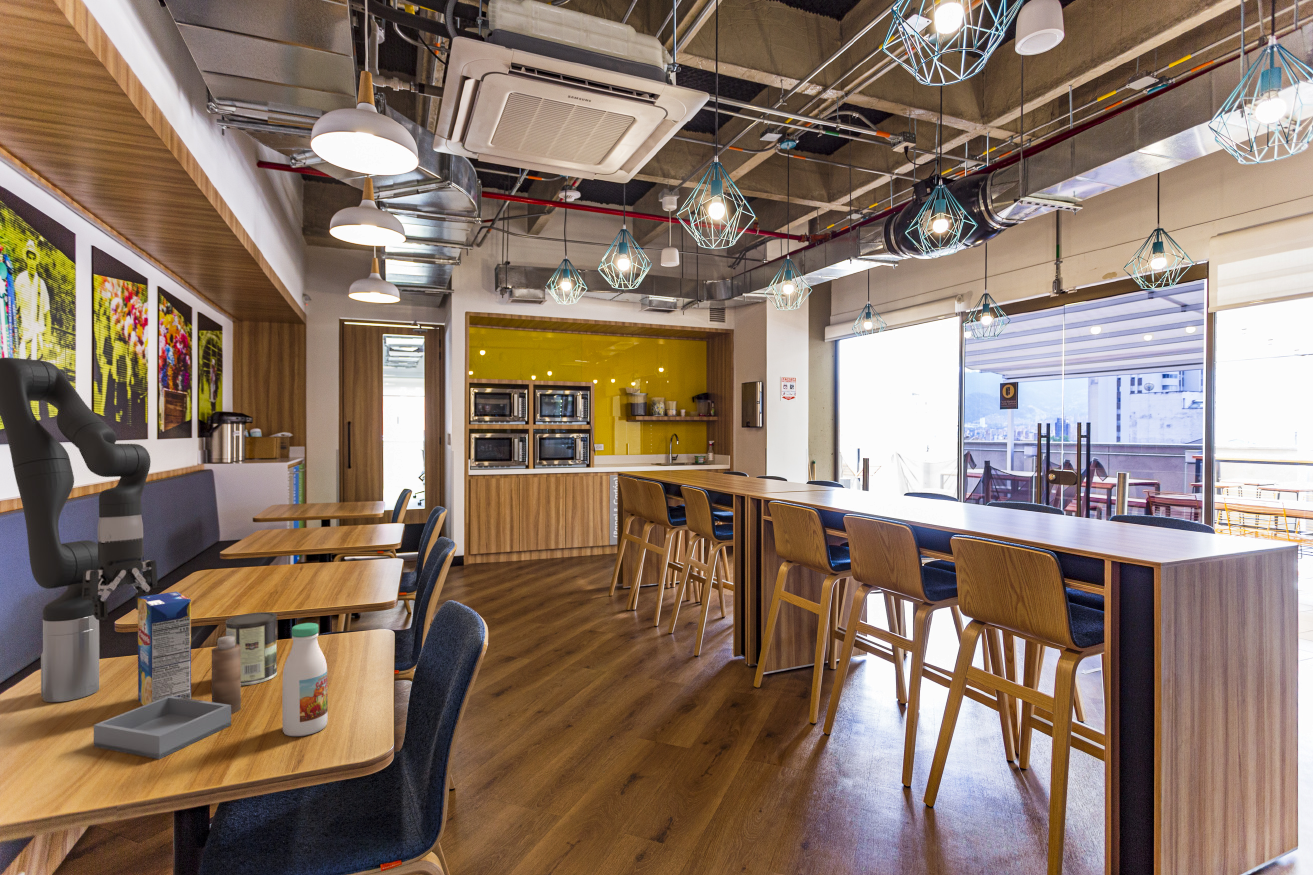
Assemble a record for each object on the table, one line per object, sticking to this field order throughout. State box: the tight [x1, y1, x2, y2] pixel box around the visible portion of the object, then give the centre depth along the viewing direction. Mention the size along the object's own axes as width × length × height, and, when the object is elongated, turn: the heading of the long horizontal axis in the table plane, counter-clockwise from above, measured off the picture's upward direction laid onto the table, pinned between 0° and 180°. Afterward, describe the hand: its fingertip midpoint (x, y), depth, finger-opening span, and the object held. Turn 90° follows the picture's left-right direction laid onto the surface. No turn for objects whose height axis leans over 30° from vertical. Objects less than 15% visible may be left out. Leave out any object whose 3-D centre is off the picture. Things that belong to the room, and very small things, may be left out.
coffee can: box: [225, 611, 278, 687], centre depth 155 cm, size 10×10×14 cm
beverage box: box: [137, 591, 192, 706], centre depth 141 cm, size 7×11×22 cm, turn 49°
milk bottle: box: [281, 622, 329, 737], centre depth 128 cm, size 8×8×20 cm
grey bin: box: [93, 696, 232, 760], centre depth 125 cm, size 16×14×4 cm
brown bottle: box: [211, 635, 242, 715], centre depth 136 cm, size 5×5×15 cm
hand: (122, 614), depth 140 cm, fingers open, 8 cm apart
